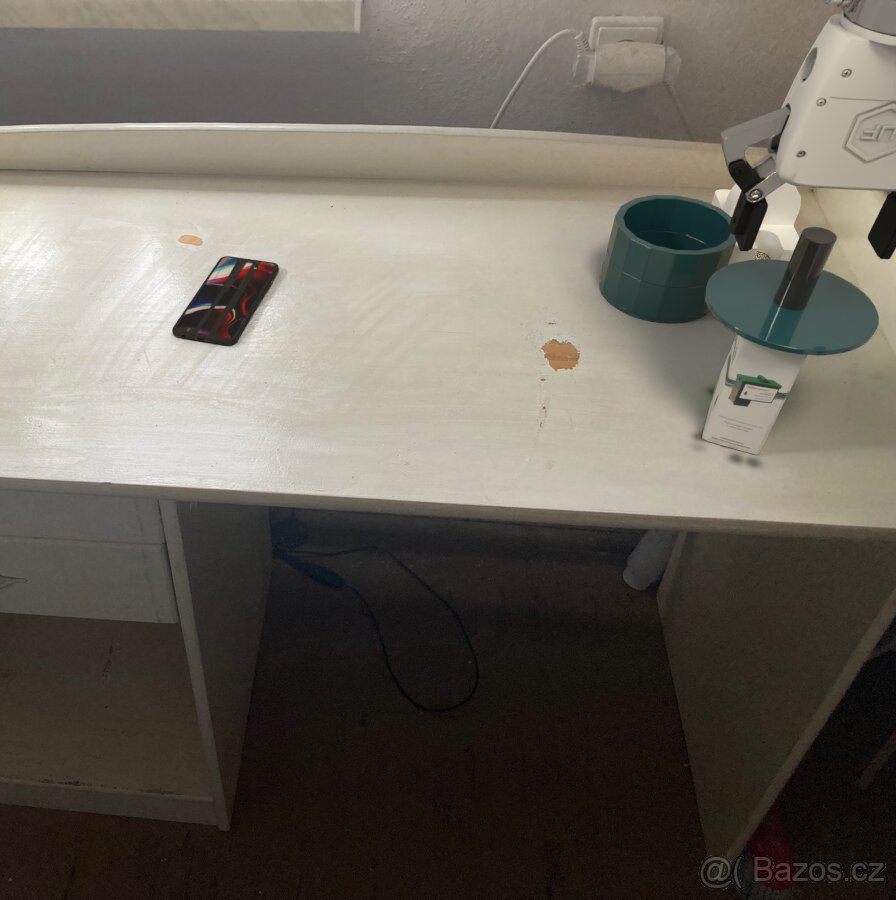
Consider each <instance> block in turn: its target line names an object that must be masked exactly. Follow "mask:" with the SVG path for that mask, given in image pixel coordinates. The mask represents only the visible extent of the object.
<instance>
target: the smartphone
mask: <svg viewBox="0 0 896 900" xmlns="http://www.w3.org/2000/svg"><path fill="white" fill-rule="evenodd" d="M279 267H280V266H279V264H278V263H276V262H273V261H265V260H258V259H251V258H246V257H245V258H244V257H237V256H232V255H225V256H221V257H220V258H219V259H218V260H217V262H216V264H215V265H214V266H213V268H212V269H211V271H210V272H209V274H208V276H207V277H206V278H205V280H204V281H203V283H202V284H201V286H200V287H199V288H198V290H197V291H196V293H195V294H194V296H193V297H192V299H191V300H190V302H189V303H188V304H187V306H186V307H185V309H184V310H183V312H182V313H181V315H180V316H179V317H178V319H177V321H176V322H175V323H174V324H173V327H172V329H171V332H172V335H173V336H174V337H177V338H181V339H187V340H193V341H199V342H206V343H210V344H216V345H222V346H223V345H224V346H232V345H234V344H236V343H237V342H238V340H239V339H240V337H241V335H242V334H243V332H244V330H245V329H246V327H247V325H248V324H249V322H250V320H251V319H252V317H253V315H254V313H255V312H256V310H257V309H258V306H259V305H260V303H261V302H262V300H263V299H264V297H265V295H266V293H268V291H269V290H270V287H271V285H272V282H273V281H274V279H275V278H276V276H277V274H278V273H279V271H280V268H279Z"/></svg>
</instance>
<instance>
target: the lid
mask: <svg viewBox="0 0 896 900" xmlns="http://www.w3.org/2000/svg"><path fill="white" fill-rule="evenodd" d="M837 240H838V236H837V235H836V233H835V232H833V231H832V230H830V229H828V228H825V227H821V226H809V227H806V228H804V229H803V230H801V233H800V235H799V240H798V242H797V244H796V247H795V249H794V252H793V254H792V256H791V259H790V261H784V260H773V259H770V258H758V259H754V260H746V261H740V262H736V263H733V264H730V265H727V266H725V267H723V268H721V269H719V270H718V271H716V272H715V273H714V274H713V275H712V276H711V277H710V279H709V280H708V282H707V285H706V288H705V301H706V304H707V306H708V308H709V310H710V311H709V312H710V313H711V314H712V316H713V317H714V318H715V319H716V320H717V321H718V322H719V323H720V324H721V325H723V326H724V327H725V328H726V329H727V330H729V331H731V332H732V333H734V334H735V335H739V336H741V337H743V338H745V339H747V340H749V341H751V342H754V343H756V344H759V345H762V346H764V347H768V348H771V349H775V350H779V351H783V352H788V353H794V354H801V355H807V356H834V355H839V354H844V353H849V352H852V351H855V350H857V349H860V348H861V347H862V346H863V347H864V345H866V344H867V343H868V342H869V341H870V340H871V339H873V337H874V335H875V334H876V332H877V330H878V328H879V324H880V323H879V321H880V317H879V313H878V312H879V311H878V309H877V308H876V306H875V304H874V303H873V301H872V300H871V298H870V297H868V295H867V294H866V293H865V292H863V291H862V290H861V288H859V287H858V286H856V285H855V284H854V283H852V282H850V281H848V280H847V279H845V278H843V277H840V276H839V275H837V274H834V273H832V272H830V271H827V270H825V266H826V265H827V262H828V260H829V258H830V256H831V253H832V251H833V249H834V247H835V245H836V242H837Z"/></svg>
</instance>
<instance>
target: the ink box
mask: <svg viewBox="0 0 896 900" xmlns="http://www.w3.org/2000/svg"><path fill="white" fill-rule="evenodd" d="M807 357H808V355H801V354H794V353H788V352H783V351H779V350H775V349H771V348H768V347H764V346H762V345H759V344H756V343H754V342H751V341H749V340H747V339H745V338H743V337H741V336H739V335H737V334H735V337H734V340H733V342H732V344H731V347H730V349H729V352H728V354H727V356H726V359H725V361H724V364H723V365H722V369H721V371H720V373H719V376H718V378H717V380H716V383H715V385H714V390H713V392H712V397H711V401H710V403H709V408H708V412H707V415H706V420H705V422H704V423H705V424H704V427H703V432H702V436H701V438H702V440H703V441H706V442H710V443H713V444H716V445H720V446H723V447H727V448H730V449H733V450H737V451H741V452H744V453H748V454H752V455H759V454H760V453H761V451H762V449H763V447H764V445H765V443H766V442H767V439H768V437H769V435H770V433H771V431H772V430H773V427H774V426H775V425H774V424H775V423H776V421H777V419H778V416H779V415H780V412H781V411H782V408H783V406H784V405H785V403H786V400H787V398H788V396H789V393H790V392H791V389H792V388H793V386H794V383H795V382H796V378H797V377H798V375H799V374H800V371H801V369H802V367H803V366H804V363H805V361H806V359H807Z"/></svg>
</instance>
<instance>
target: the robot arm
mask: <svg viewBox="0 0 896 900" xmlns="http://www.w3.org/2000/svg"><path fill="white" fill-rule="evenodd" d="M824 3H825V5H836V7H838V8H840V9H841V11H842V12H841V13H835V14H832V15H831V16H830V17H829V19H828V20H827V21H826V23H825V24H824V26H823V27H822V29H821V31H820V33H819V34H818V35H817V37H816V39H815V41H814V42H813V44H812V46H811V47H810V48H809V51H808V53H807V54H806V57H805V58H804V60H803V62H802V64H801V65H800V68H799V69H798V72H797V73H796V75H795V77H794V79H793V80H792V84H791V85H790V88H789V90H788V92H787V94H786V96H785V98H784V101H783V103H782V105H781V108H779V109H776V110H773V111H771V112H768V113H766V114H763V115H759V116H757V117H755V118H752V119H749V120H747V121H744V122H742V123H739V124H737V125H733V126H731V127H728V128H726V129H724V130H722V131H721V132H720V135H719V141H720V144H721V149H722V154H723V157H724V161H725V166H726V168H727V171H728V173H729V176H730V177H731V179H732V180H733V181H734V183H735V184H737V185H738V187H739V188H740V189H741V193H740V196H739V199H738V201H737V204H736V207H735V210H734V213H733V215H732V218H731V221H730V232H731V234H734V236H735V238H736V241H737V244H738V247H739V249H740V251H749V250H751V249H752V247H753V245H754V242H755V240H756V237H757V234H758V232H759V229H760V227H761V224H762V222H763V219H764V217H765V214H766V211H767V209H768V203H767V201H766V199H765V197H766V196H767V195H769V194H770V193H772V192H773V191H775V190H776V189H777V188H779V187H780V186H782V185H783V184H785V183H788V184H790V185H794V186H796V187H799V188H800V187H801V188H812V189H813V188H814V189H830V190H849V191H850V190H851V191H872V192H873V191H874V192H875V191H876V192H890V193H888V194H887V196H886V198H885V200H884V202H883V204H882V206H881V208H880V210H879V211H878V213H877V216H876V218H875V220H874V222H873V224H872V225H871V228H870V230H869V232H868V234H867V241H868V242H869V244H870V246H871V248H872V249H873V251H874V253H875V254H876V256H877V258H878V259H880V260H890V259H891V258H892V256H893V254H894V253H895V251H896V0H824ZM766 140H768V141H767V142H768V143H767V154H765V155H764V156H763V157H761V158H760V159H758V160H757V161H756V162H754V163H752V165H751V164H750V163H749V161H748V160H747V158H746V150H747V149H748V148H749V147H750V146H752V145H755V144H758V143H760V142H763V141H766Z"/></svg>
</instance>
